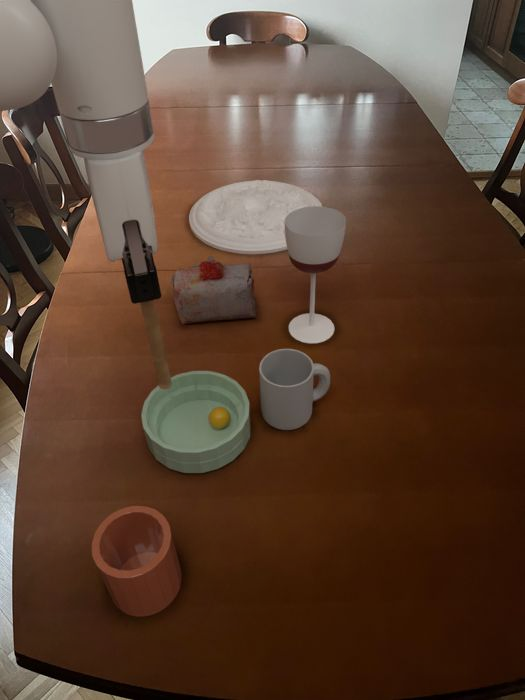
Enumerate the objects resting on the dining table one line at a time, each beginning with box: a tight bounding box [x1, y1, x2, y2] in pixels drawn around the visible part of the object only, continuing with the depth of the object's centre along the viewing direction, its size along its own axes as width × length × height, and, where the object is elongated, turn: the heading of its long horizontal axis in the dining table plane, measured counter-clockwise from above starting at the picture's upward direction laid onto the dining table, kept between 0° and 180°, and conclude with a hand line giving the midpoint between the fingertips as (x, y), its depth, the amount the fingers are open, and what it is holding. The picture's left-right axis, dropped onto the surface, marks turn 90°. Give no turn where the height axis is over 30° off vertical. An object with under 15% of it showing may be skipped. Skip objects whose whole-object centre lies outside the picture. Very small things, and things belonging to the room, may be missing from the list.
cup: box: [258, 348, 331, 431], centre depth 81 cm, size 7×10×9 cm
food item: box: [170, 255, 258, 325], centre depth 97 cm, size 14×8×10 cm, turn 95°
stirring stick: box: [130, 253, 172, 389], centre depth 67 cm, size 2×2×20 cm
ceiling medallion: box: [188, 179, 324, 255], centre depth 122 cm, size 28×28×3 cm
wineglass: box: [285, 206, 347, 344], centre depth 90 cm, size 8×9×20 cm
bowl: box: [140, 370, 252, 474], centre depth 80 cm, size 14×14×5 cm
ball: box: [208, 407, 230, 429], centre depth 80 cm, size 3×3×3 cm
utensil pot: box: [91, 505, 183, 618], centre depth 63 cm, size 8×8×9 cm
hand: (144, 292), depth 64 cm, fingers closed on stirring stick, 1 cm apart
